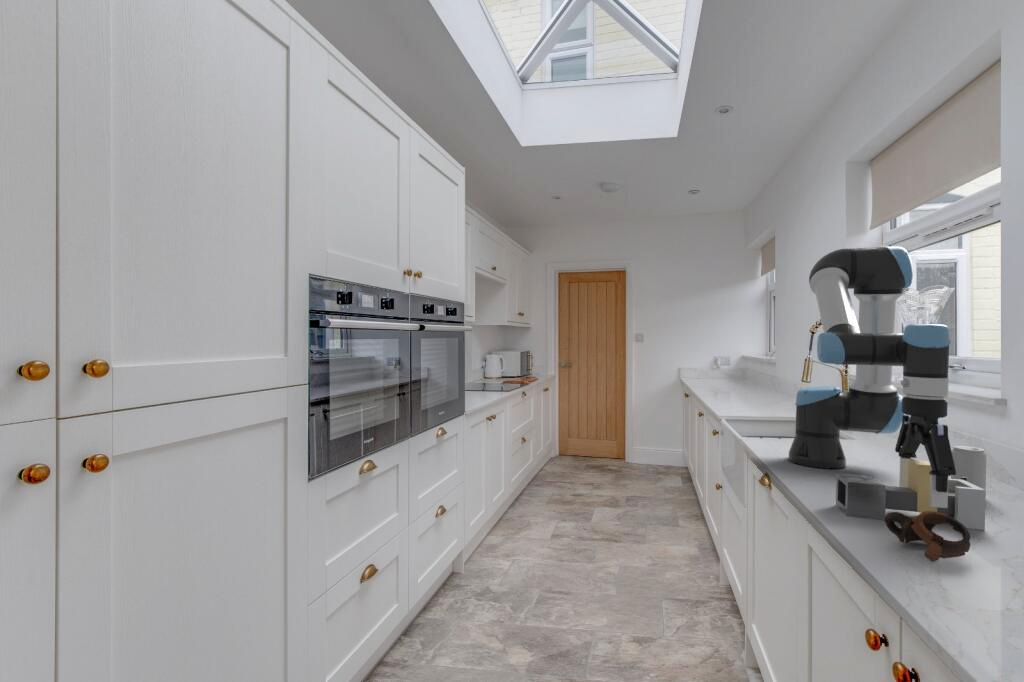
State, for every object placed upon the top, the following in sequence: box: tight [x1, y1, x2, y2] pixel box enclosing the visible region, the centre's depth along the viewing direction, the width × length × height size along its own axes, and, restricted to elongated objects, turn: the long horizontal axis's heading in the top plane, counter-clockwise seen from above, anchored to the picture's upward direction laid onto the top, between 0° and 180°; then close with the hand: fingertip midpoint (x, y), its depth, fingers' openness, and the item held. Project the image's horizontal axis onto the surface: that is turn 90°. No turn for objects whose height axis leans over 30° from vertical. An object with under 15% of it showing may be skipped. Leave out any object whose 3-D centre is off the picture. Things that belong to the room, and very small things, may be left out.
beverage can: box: [950, 445, 987, 498], centre depth 125 cm, size 6×6×12 cm
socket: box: [948, 478, 987, 531], centre depth 107 cm, size 8×4×8 cm, turn 164°
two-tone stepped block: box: [885, 459, 955, 515], centre depth 109 cm, size 4×17×10 cm, turn 74°
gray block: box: [835, 472, 887, 520], centre depth 112 cm, size 7×7×7 cm
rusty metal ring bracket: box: [883, 511, 972, 563], centre depth 91 cm, size 12×10×8 cm
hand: (921, 496), depth 109 cm, fingers open, 13 cm apart
